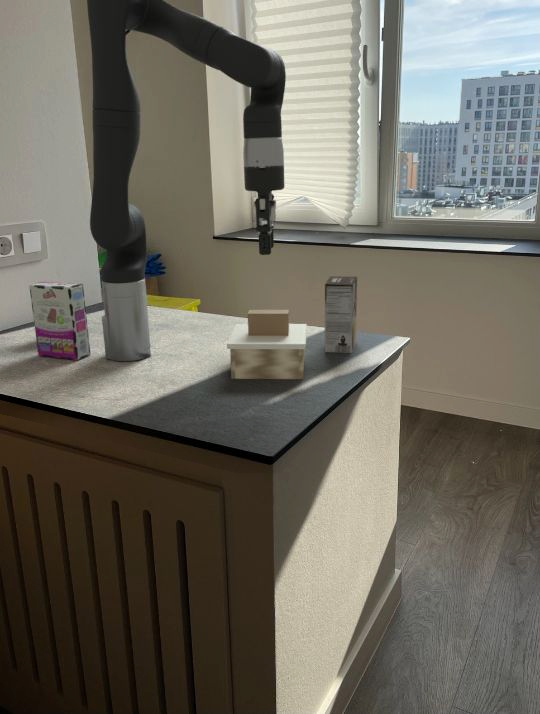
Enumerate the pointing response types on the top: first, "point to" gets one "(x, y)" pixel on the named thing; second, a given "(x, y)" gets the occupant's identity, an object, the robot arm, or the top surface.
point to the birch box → (267, 363)
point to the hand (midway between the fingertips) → (266, 251)
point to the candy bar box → (60, 320)
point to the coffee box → (340, 314)
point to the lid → (268, 332)
